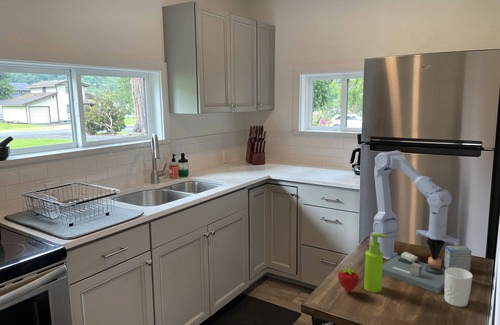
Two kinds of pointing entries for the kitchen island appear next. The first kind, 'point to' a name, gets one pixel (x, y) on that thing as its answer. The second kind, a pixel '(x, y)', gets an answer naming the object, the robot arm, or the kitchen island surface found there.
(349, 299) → the kitchen island surface
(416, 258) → the rocker switch
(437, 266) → the push button
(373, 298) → the kitchen island surface
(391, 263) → the panel
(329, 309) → the kitchen island surface
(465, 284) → the white cup
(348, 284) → the strawberry
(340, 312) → the kitchen island surface
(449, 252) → the medicine box
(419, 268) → the slider knob
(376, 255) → the soap dispenser
